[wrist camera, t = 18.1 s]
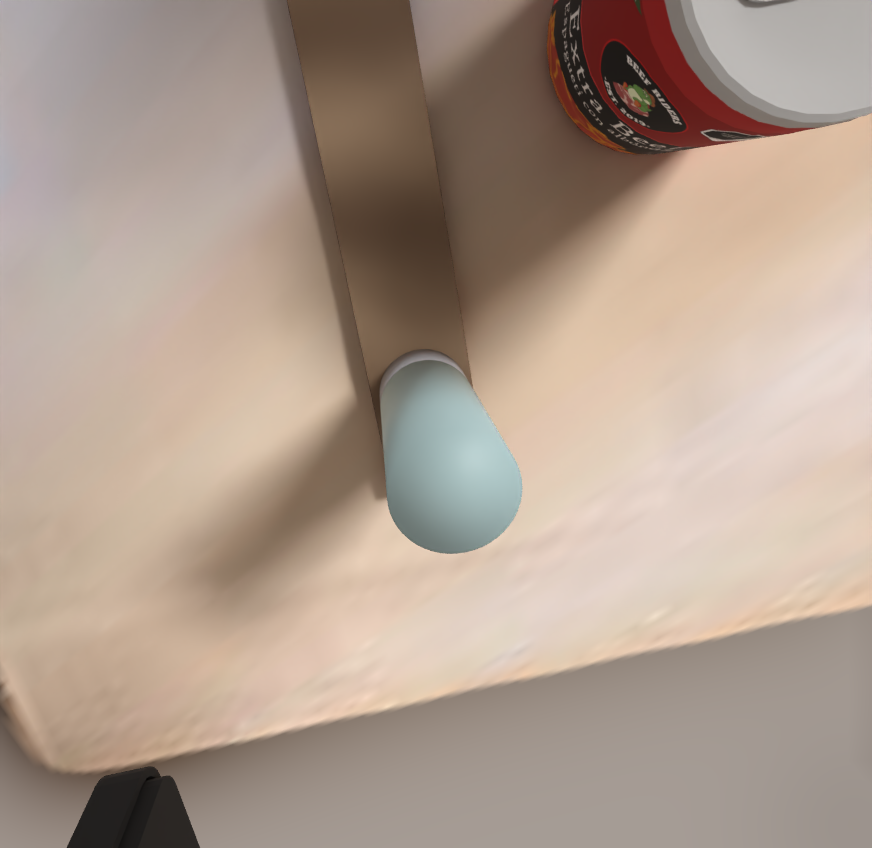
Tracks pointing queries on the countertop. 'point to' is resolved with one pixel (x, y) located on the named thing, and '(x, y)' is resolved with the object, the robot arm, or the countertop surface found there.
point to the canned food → (708, 69)
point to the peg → (444, 457)
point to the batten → (380, 178)
